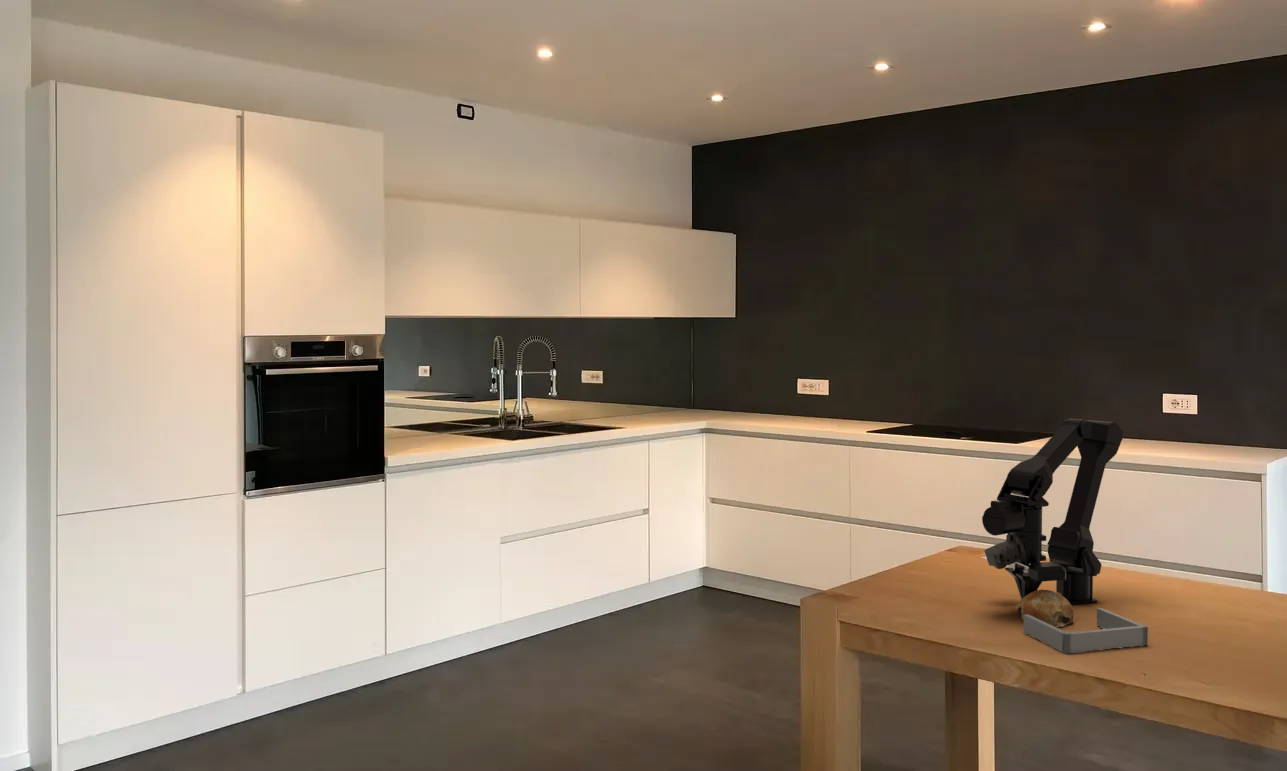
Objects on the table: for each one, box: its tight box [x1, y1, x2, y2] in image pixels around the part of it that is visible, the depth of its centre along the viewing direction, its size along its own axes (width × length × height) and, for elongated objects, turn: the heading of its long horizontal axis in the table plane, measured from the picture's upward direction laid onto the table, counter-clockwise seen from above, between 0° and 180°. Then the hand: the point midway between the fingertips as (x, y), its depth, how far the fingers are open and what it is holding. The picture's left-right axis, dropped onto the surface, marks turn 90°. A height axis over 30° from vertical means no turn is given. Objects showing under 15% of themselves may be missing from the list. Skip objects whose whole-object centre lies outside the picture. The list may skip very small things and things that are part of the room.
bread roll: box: [1015, 589, 1075, 628], centre depth 203 cm, size 10×10×8 cm
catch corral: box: [1022, 607, 1149, 655], centre depth 192 cm, size 17×13×4 cm
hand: (1025, 604), depth 210 cm, fingers closed
